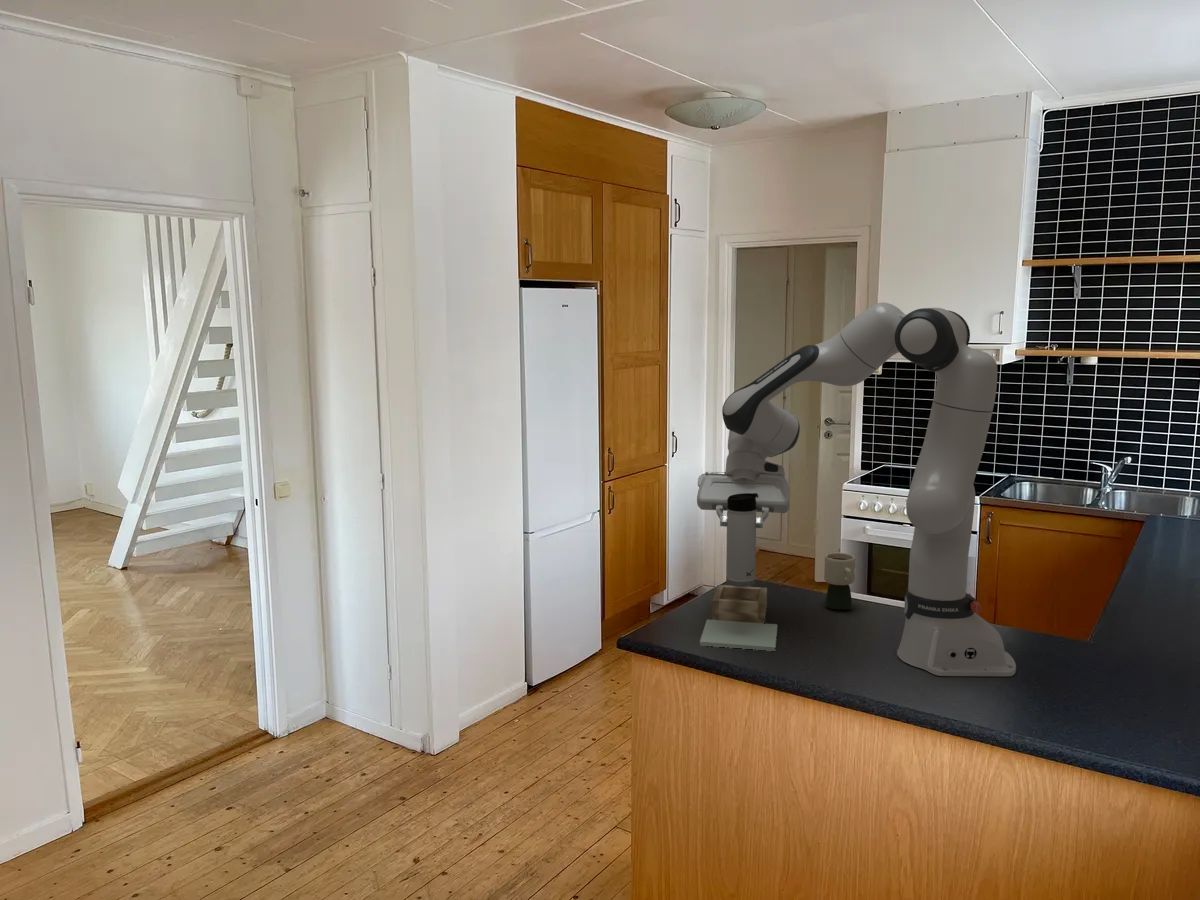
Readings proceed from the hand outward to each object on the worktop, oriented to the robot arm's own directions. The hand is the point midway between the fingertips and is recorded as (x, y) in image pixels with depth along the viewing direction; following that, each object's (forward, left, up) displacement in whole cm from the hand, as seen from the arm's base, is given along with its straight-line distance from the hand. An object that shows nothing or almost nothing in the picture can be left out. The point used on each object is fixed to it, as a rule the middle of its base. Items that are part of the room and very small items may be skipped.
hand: (741, 526), depth 188 cm
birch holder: (+1, -16, -25) cm, 30 cm away
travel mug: (0, -1, -13) cm, 13 cm away
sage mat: (0, -1, -25) cm, 25 cm away
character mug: (-22, -25, -26) cm, 42 cm away
